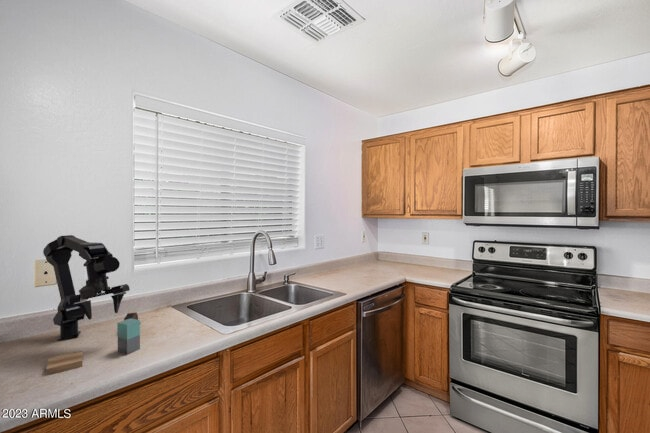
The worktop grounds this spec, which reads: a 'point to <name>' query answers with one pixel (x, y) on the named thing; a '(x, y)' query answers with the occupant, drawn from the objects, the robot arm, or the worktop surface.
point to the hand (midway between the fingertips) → (103, 316)
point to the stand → (64, 362)
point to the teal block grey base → (128, 336)
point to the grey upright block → (131, 316)
